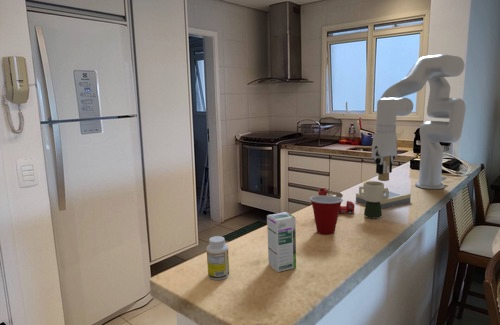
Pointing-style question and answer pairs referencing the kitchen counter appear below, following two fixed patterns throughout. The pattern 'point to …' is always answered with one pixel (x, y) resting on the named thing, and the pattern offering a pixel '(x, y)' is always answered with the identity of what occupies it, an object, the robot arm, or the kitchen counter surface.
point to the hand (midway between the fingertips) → (383, 172)
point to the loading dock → (388, 199)
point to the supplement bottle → (217, 258)
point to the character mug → (373, 198)
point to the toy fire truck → (343, 209)
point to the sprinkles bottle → (385, 169)
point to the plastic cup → (326, 213)
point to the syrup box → (281, 241)
